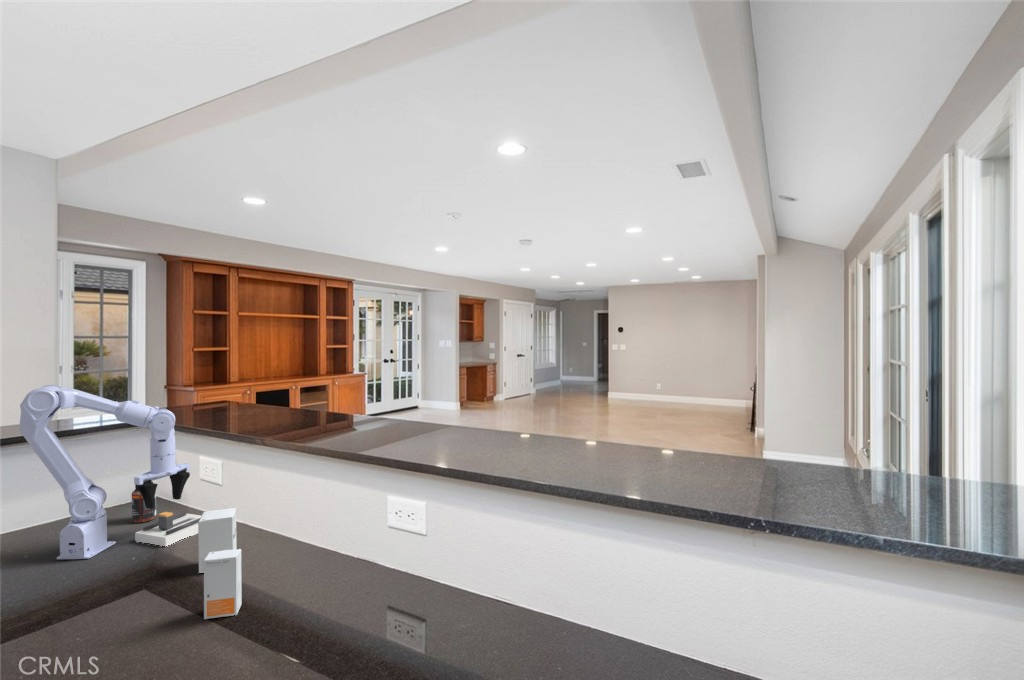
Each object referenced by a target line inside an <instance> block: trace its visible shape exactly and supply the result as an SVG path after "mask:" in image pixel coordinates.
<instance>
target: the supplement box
mask: <svg viewBox="0 0 1024 680" xmlns="http://www.w3.org/2000/svg"><path fill="white" fill-rule="evenodd" d="M197 535H198V537H197V538H198V546H197V547H198V574H199V573H204V560H205V558H206V557H207V555H208V554H209V552H216V551H223V550H235V549H237V548H238V547H237V542H238V541H237V507H230V508H223V509H216V510H215V509H214V510H209V511H203V512H202V514H201V518H200V520H199V522H198V533H197Z"/></svg>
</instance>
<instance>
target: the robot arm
mask: <svg viewBox="0 0 1024 680" xmlns="http://www.w3.org/2000/svg"><path fill="white" fill-rule="evenodd" d="M23 398H24V399H23V400H22V401H21V403H20V405H19V408H20V418H19V425H18V426H19V432H20V434H21V435H22V437H24V439H25V440H26V442H27V443H28V444H29V446H30V447H31V448H32V450H33V451H34V452H35V454H36V455H37V457H38V458H39V460H40V461H41V462H42V463H43V465H44V466H45V467H46V469H47V470H48V472H49V473H50V474H51V475H52V477H53V478H54V479H55V481H56V482H57V483H58V485H59V487H60V488H61V489H62V490H63V496H64V500H65V501H66V502H67V504H68V513H69V514H70V520H69V522H68V524H66V526H64V527H63V528H62V529H61V531H60V533H59V555H58V556H57V557H56V560H88V559H91V558H92V557H94V556H96V555H98V554H100V553H101V552H103V551H105V550H107V549H108V548H110V547H112V546H113V545H115V544H116V542H117V541H114V540H113V541H108V525H107V524H108V520H107V515H108V514H107V509H105V508H104V507H103V505H104V503H105V502H106V500H107V497H108V496H107V492H106V490H105V489H104V488H103V487H101V486H99V485H97V484H95V482H94V481H93V480H92V479H90V478H88V477H87V476H86V475H85V474H84V472H83V470H81V468H80V467H79V465H78V464H77V463H76V461H75V460H74V459H73V457H72V456H71V454H70V453H69V452H68V450H67V449H66V447H65V446H64V445H63V444H62V442H61V440H60V439H59V437H58V436H57V435H56V433H55V432H54V430H53V429H52V427H50V424H51V423H52V420H53V418H54V416H55V413H56V412H57V411H58V410H63V409H69V408H75V407H79V408H84V409H89V410H92V411H97V412H101V413H104V414H105V413H106V414H111V415H114V416H115V418H116V420H117V422H120V423H125V424H129V425H132V426H135V427H136V426H137V427H140V428H144V429H145V428H149V431H150V440H149V450H150V451H149V452H150V455H149V458H150V459H149V460H150V470H149V471H148V472H145V473H142V474H140V475H137V476H134V477H133V480H134V481H133V484H134V486H135V487H136V488H137V489H138V490H139V492H140V493H141V495H142V497H143V499H144V502H145V505H146V508H149V509H153V508H154V506H155V492H156V493H157V488H158V483H155V482H153V481H155V480H160V479H163V478H166V477H169V479H170V483H171V490H172V491H171V493H172V499H173V500H181V498H182V495H183V491H184V487H185V485H186V483H187V481H188V479H189V478H190V476H191V474H190V473H191V472H190V471H191V464H190V463H180V464H176V462H177V461H176V456H177V455H176V436H175V433H176V431H175V425H176V416H175V414H174V413H173V412H172V411H170V410H168V409H167V408H160V406H157V405H155V406H154V407H153V406H151V405H147V404H144V403H143V404H142V403H140V400H137V399H133V400H126V401H123V402H119V401H114V400H111V399H108V398H104V397H102V396H99V395H95V394H92V393H90V392H86V391H83V390H79V389H76V388H72V387H67V386H66V387H65V386H64V387H61V386H59V385H58V384H47V385H43V386H42V387H38V388H35V389H32V390H31V391H29V392H28V393H26V395H25V397H23ZM135 487H134V488H135ZM136 488H135V489H136Z"/></svg>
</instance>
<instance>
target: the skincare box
mask: <svg viewBox="0 0 1024 680" xmlns="http://www.w3.org/2000/svg"><path fill="white" fill-rule="evenodd" d="M242 589H243V588H242V548H238V549H235V550H223V551H216V552H209V554H208V555H207V557H206V558H205V560H204V574H203V619H204V620H208V619H215V618H222V617H230V616H231V617H234V615H235V616H237V615H238V614H239V610H240V608H241V606H242V604H243V603H242V601H243V600H242V598H243V595H242Z"/></svg>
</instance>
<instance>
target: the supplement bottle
mask: <svg viewBox="0 0 1024 680" xmlns="http://www.w3.org/2000/svg"><path fill="white" fill-rule="evenodd" d="M134 488H135V489H134V490H133V491H132V492H131V517H132V522H133V523H136V524H139V523H142V522H143V523H147V521H148V522H151V521H153V520H155V519H156V518H157V491H156V492H155V506H154V508H153V509H149V508H146V505H145V502H144V499H143V497H142V495H141V493H140V492H139V490H138V489H137V488H136V487H134ZM150 520H151V521H150Z"/></svg>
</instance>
